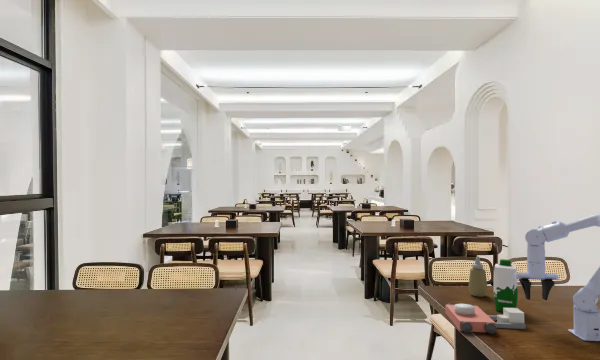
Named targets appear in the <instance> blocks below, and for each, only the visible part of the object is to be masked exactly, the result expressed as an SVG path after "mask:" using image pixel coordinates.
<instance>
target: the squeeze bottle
mask: <svg viewBox="0 0 600 360" xmlns="http://www.w3.org/2000/svg"><path fill="white" fill-rule="evenodd" d="M481 263H482V262H481V259H480V256H478V255H477V256H476V257H475V260H474V263H472V268H471V269H470V271H469V277H468V289H469V292H470V294H471V296H473V297H480V298H481V297H485V296H486V293H487V290H488V283H487V282H488V281H487V275H486V274H487V272H486V269H484V264H483V263H482V264H481Z"/></svg>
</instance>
